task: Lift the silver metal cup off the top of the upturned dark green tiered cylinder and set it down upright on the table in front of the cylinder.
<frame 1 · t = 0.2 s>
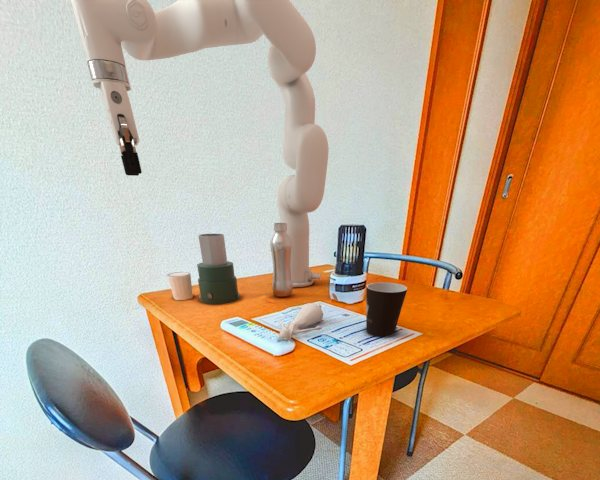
hand: (133, 174, 77), 31 cm above the table, tool pointing down, fingers open, 9 cm apart
silver metal bottle: (282, 296, 98), on the table
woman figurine: (300, 330, 74), on the table
silver cup: (215, 263, 90), point 10 cm above the table, touching dark green tiered cylinder
pale pink short cylinder: (183, 298, 97), on the table
dark green tiered cylinder: (220, 298, 96), on the table
coffee mug: (382, 330, 73), on the table
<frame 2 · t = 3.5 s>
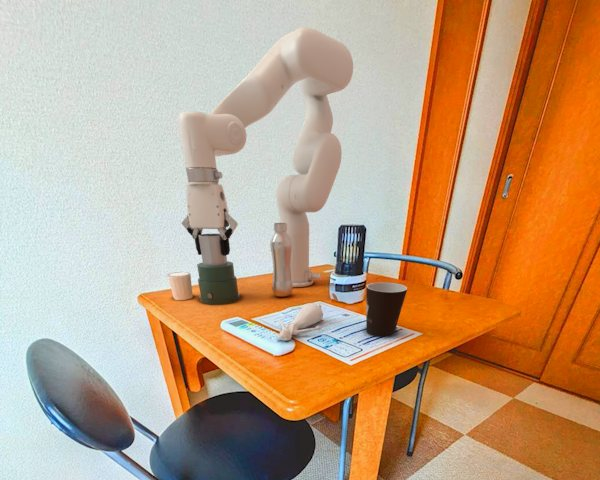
hand: (213, 253, 89), 13 cm above the table, tool pointing down, fingers closed on silver cup, 6 cm apart
silver cup: (215, 263, 90), point 10 cm above the table, touching dark green tiered cylinder, gripper
everything else where it was.
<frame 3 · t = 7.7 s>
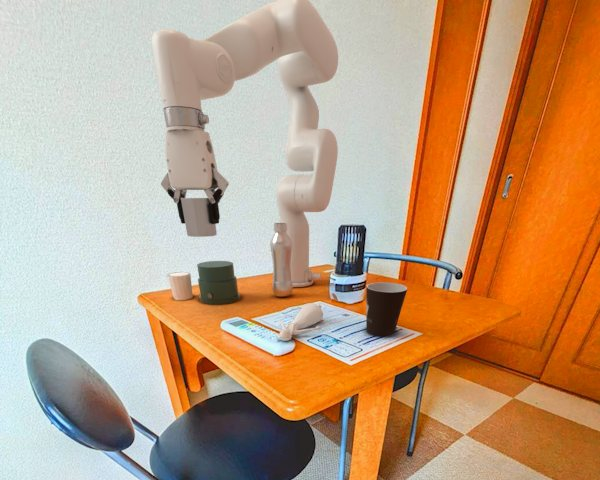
hand: (200, 222, 73), 21 cm above the table, tool pointing down, fingers closed on silver cup, 6 cm apart
silver cup: (202, 235, 75), point 19 cm above the table, touching gripper
everything else where it was.
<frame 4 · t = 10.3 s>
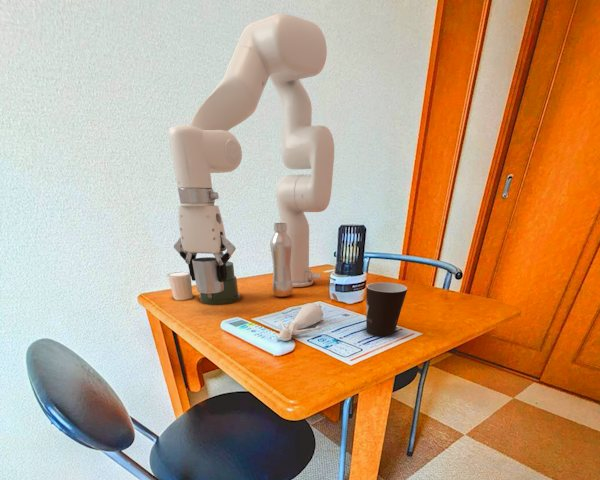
hand: (209, 279, 80), 8 cm above the table, tool pointing down, fingers closed on silver cup, 6 cm apart
silver cup: (210, 290, 82), point 6 cm above the table, touching gripper
everything else where it was.
when the fingers open (3 cm above the table, at t = 12.2 s): silver cup stays where it is, on the table.
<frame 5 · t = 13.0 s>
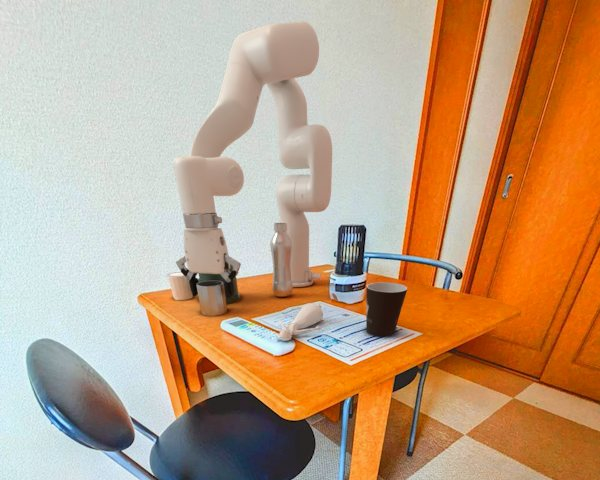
hand: (213, 295, 83), 4 cm above the table, tool pointing down, fingers open, 9 cm apart
silver cup: (214, 311, 85), on the table
everything else where it was.
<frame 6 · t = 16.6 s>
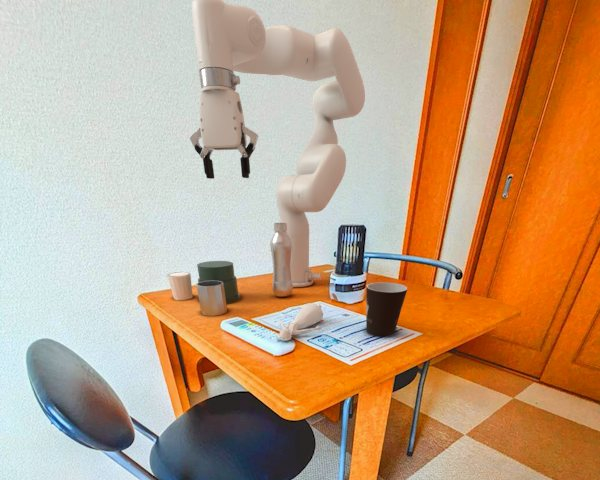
hand: (227, 178, 79), 30 cm above the table, tool pointing down, fingers open, 9 cm apart
nothing on the table moved.
at the end: silver cup inside the target area (0.2 cm from its centre), on the table; silver cup tilted 0°; silver cup touching table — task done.
